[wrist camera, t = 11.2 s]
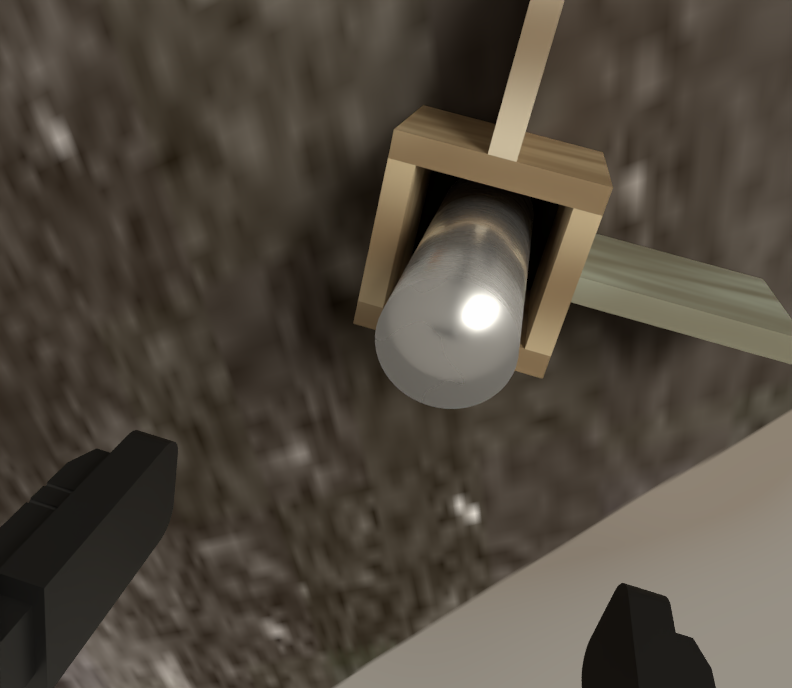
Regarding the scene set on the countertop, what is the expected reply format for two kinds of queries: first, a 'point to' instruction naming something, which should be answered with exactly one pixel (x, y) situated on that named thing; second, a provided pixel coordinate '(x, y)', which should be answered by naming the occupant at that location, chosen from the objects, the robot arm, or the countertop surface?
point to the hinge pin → (460, 300)
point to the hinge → (558, 226)
